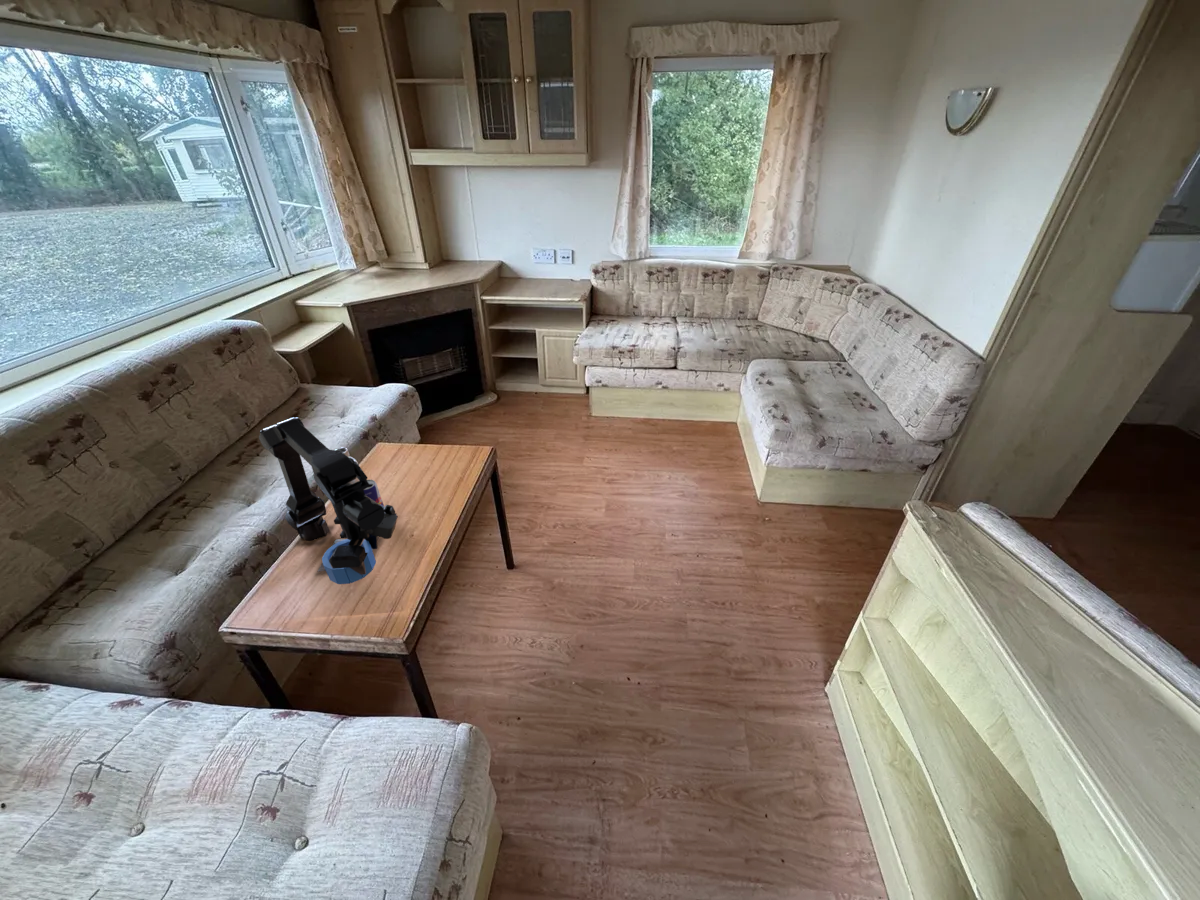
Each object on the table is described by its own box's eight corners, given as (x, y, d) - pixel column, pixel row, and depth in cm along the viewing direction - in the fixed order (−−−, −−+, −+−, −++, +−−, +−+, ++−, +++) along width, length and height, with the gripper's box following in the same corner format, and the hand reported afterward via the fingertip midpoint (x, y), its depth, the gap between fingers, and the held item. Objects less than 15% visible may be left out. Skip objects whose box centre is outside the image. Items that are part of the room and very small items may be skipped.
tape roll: (321, 585, 109) (314, 570, 107) (338, 553, 118) (332, 539, 115) (367, 582, 110) (361, 567, 107) (381, 551, 118) (376, 536, 116)
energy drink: (379, 523, 140) (368, 491, 134) (363, 521, 141) (351, 489, 135) (390, 512, 145) (379, 480, 138) (374, 510, 146) (363, 478, 139)
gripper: (373, 536, 97) (392, 589, 106) (399, 482, 113) (414, 532, 121) (317, 539, 97) (340, 592, 105) (351, 485, 113) (369, 535, 121)
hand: (369, 560), depth 113 cm, fingers closed on tape roll, 8 cm apart
